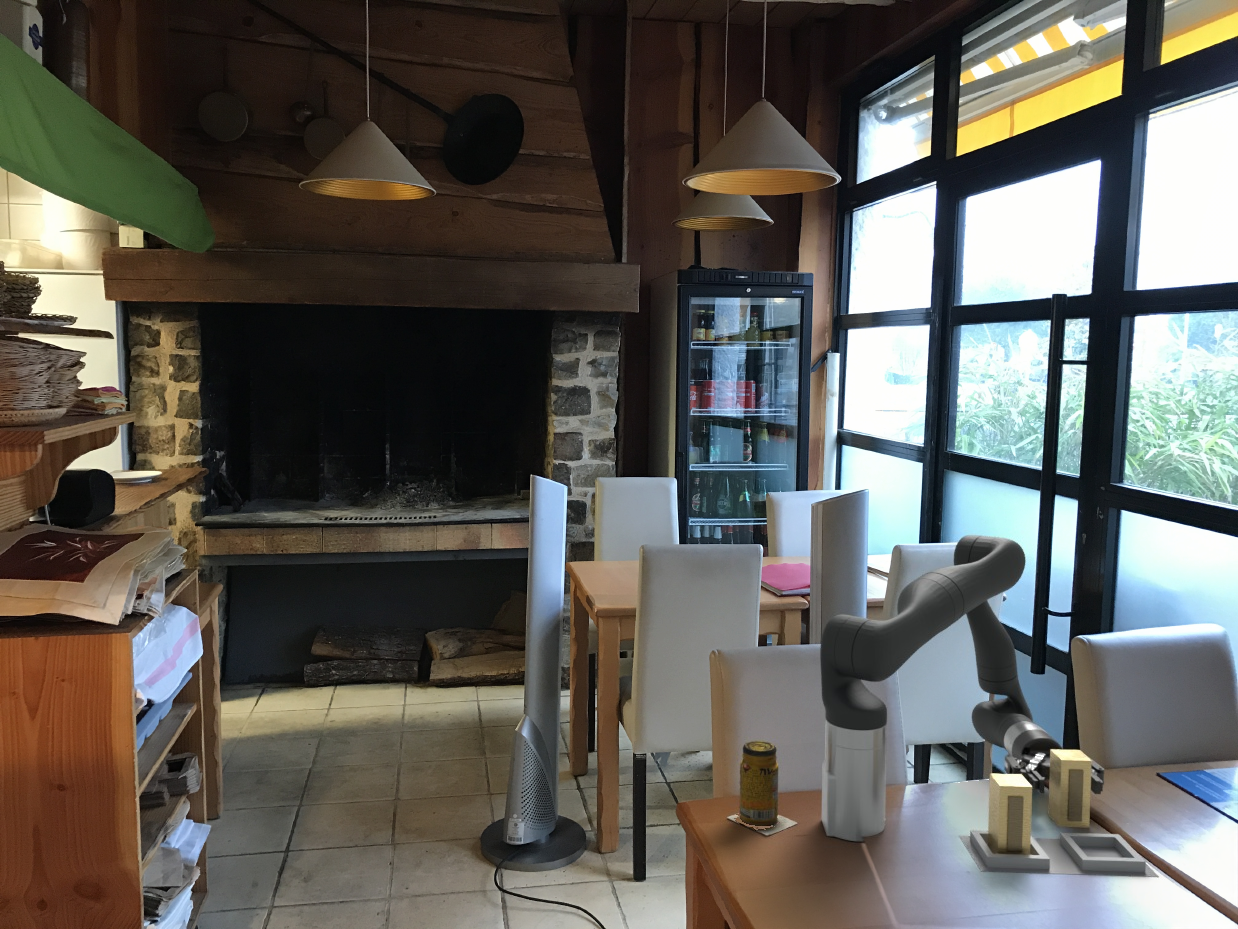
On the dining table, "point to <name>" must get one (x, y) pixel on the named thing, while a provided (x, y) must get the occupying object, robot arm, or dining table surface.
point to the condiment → (760, 788)
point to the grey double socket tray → (1062, 856)
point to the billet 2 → (1069, 788)
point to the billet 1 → (1009, 814)
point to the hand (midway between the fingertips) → (1070, 787)
